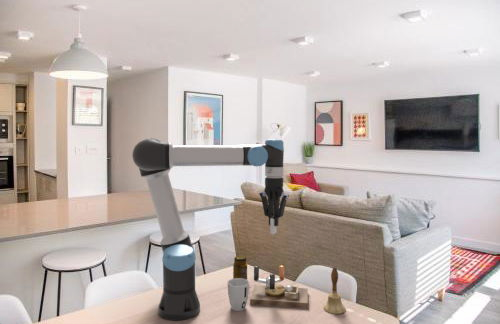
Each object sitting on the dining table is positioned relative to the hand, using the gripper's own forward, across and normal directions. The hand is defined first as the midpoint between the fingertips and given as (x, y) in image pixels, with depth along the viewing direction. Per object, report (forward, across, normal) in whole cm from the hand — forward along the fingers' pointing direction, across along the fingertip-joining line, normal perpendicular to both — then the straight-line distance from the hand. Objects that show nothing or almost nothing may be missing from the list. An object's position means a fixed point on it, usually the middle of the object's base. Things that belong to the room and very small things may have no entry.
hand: (273, 233), depth 163 cm
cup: (+25, -3, -22) cm, 33 cm away
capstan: (+22, +3, -8) cm, 24 cm away
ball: (+22, +10, -4) cm, 25 cm away
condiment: (+25, -15, -3) cm, 29 cm away
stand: (+24, +6, -5) cm, 26 cm away
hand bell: (+25, +28, -2) cm, 37 cm away
